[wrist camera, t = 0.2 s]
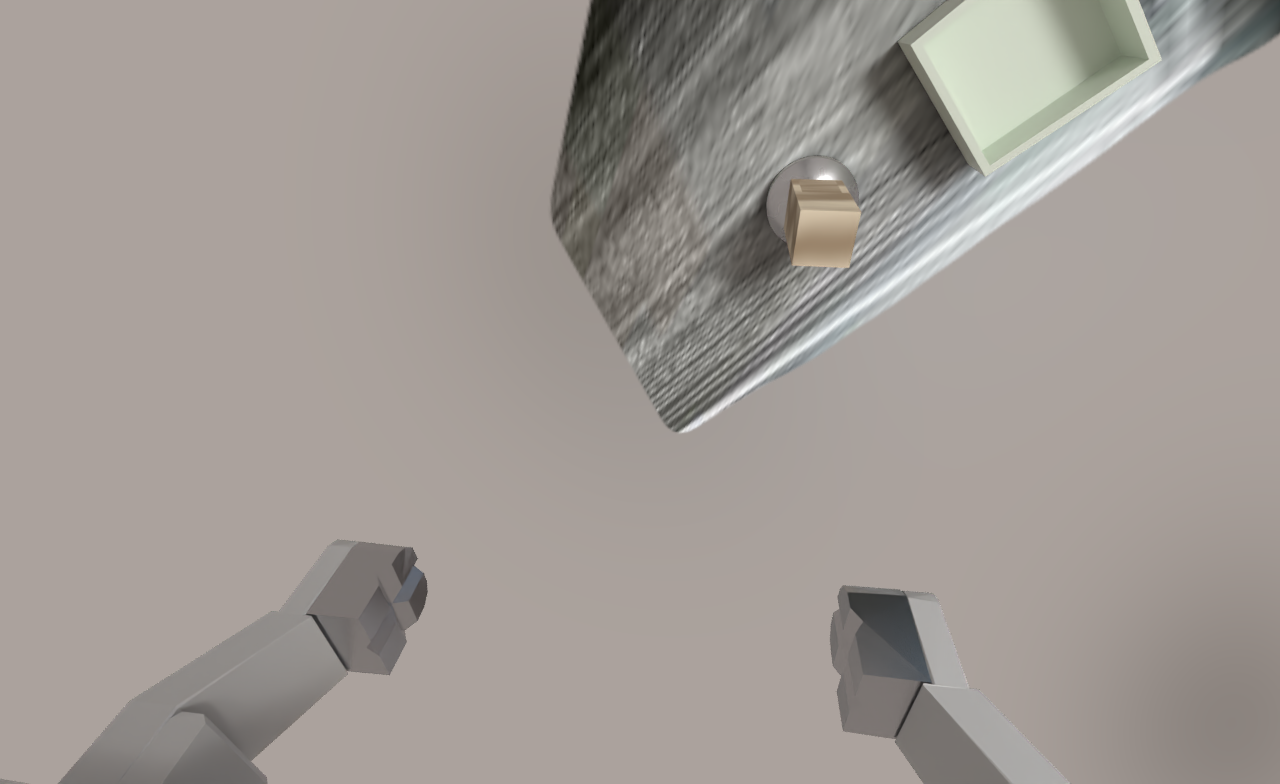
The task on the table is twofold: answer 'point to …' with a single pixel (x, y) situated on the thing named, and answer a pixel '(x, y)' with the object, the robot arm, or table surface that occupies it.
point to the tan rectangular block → (820, 223)
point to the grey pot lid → (804, 169)
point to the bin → (1024, 67)
